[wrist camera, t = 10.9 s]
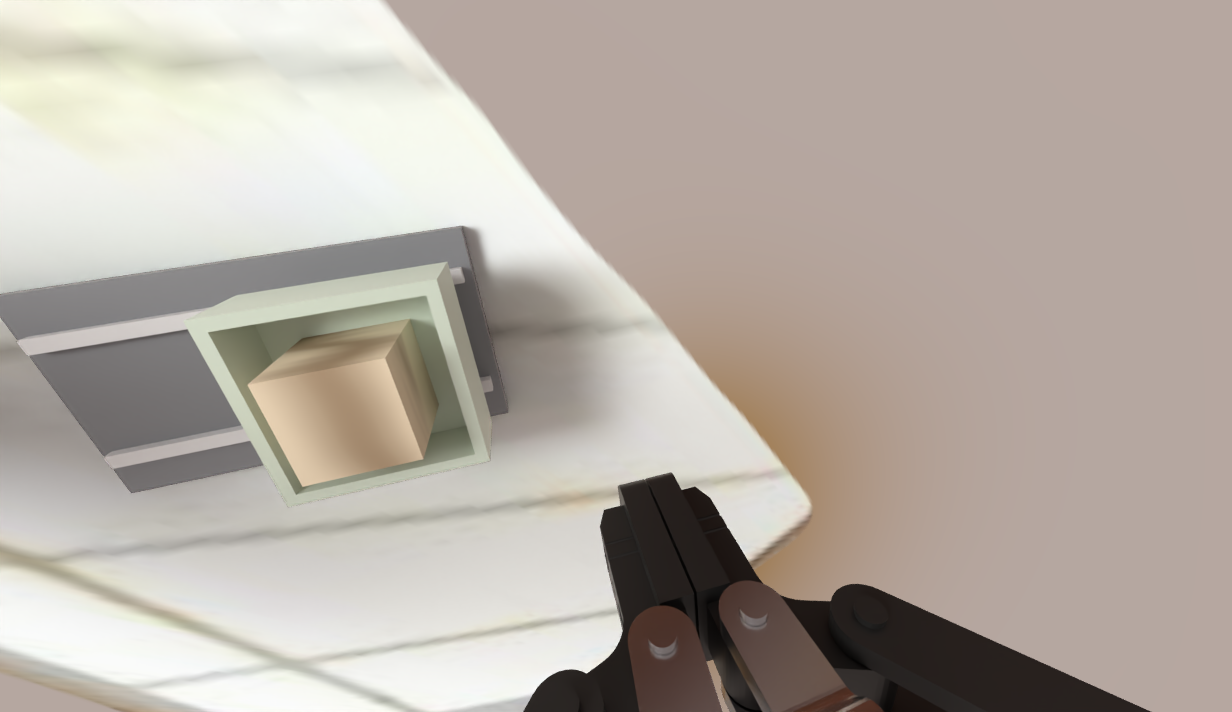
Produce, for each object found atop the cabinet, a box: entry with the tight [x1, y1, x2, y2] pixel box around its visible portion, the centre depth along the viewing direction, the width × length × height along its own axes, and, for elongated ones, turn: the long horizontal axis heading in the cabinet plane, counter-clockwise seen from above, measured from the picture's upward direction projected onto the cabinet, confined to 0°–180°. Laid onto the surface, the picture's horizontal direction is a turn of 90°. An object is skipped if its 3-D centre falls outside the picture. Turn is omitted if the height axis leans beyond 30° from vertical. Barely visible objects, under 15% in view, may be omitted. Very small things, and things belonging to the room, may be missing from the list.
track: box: [0, 226, 508, 493], centre depth 25 cm, size 22×12×1 cm, turn 97°
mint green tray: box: [183, 262, 492, 507], centre depth 23 cm, size 10×10×6 cm
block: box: [248, 319, 439, 487], centre depth 20 cm, size 5×5×5 cm
